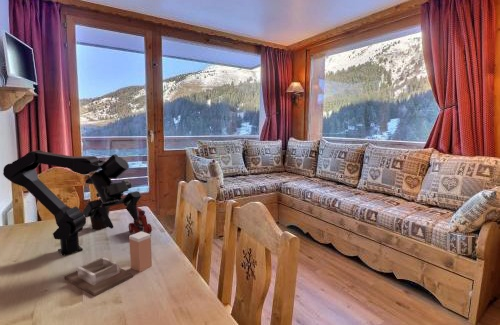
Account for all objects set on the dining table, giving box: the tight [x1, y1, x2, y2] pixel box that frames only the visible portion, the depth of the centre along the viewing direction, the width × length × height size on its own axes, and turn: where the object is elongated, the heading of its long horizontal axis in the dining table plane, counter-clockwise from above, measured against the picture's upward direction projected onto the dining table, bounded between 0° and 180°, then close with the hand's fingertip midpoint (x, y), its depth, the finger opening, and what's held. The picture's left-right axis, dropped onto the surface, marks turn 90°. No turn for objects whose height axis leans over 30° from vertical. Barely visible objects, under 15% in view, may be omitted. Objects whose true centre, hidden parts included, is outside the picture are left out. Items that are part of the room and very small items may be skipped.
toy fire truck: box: [127, 206, 153, 235], centre depth 124 cm, size 7×12×10 cm, turn 40°
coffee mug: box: [89, 207, 110, 231], centre depth 131 cm, size 12×9×10 cm
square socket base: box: [64, 256, 134, 297], centre depth 89 cm, size 16×12×4 cm
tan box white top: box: [128, 231, 153, 273], centre depth 95 cm, size 5×5×11 cm
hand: (125, 223), depth 98 cm, fingers open, 9 cm apart
